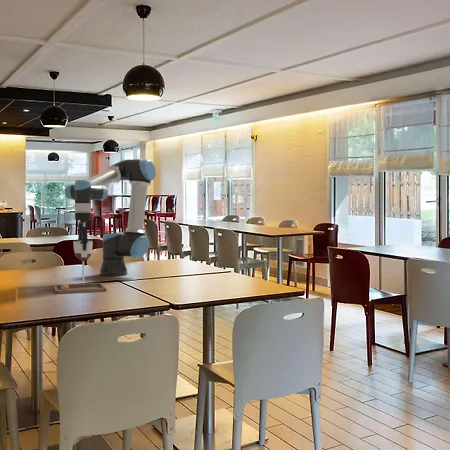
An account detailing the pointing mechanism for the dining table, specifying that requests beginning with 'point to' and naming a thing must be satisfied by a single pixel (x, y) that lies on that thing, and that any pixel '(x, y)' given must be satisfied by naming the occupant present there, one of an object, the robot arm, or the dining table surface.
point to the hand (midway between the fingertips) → (82, 256)
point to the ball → (64, 287)
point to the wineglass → (78, 253)
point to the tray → (81, 288)
